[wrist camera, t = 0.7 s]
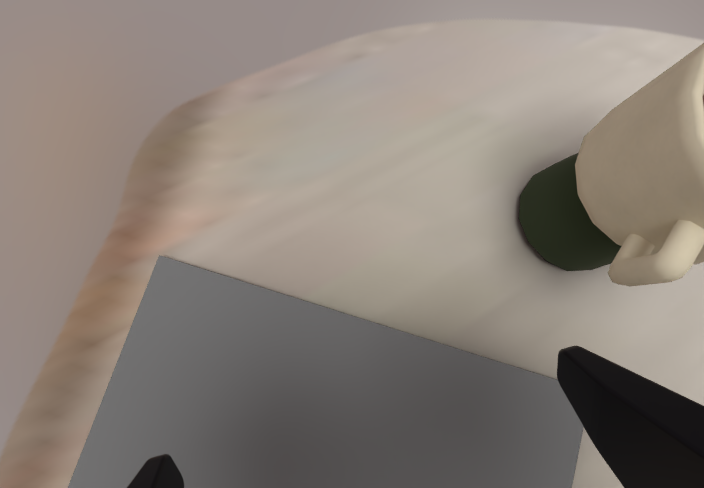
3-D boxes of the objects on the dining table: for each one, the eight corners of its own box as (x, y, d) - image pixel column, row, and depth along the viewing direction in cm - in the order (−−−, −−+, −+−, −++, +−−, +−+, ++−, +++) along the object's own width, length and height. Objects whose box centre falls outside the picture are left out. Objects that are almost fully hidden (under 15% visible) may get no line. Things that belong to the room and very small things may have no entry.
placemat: (584, 388, 24) (590, 390, 23) (517, 719, 21) (523, 731, 21) (163, 256, 24) (159, 255, 23) (39, 573, 21) (31, 581, 20)
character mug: (571, 332, 24) (842, 349, 12) (465, 259, 25) (615, 196, 12) (660, 181, 26) (979, 51, 13) (561, 114, 27) (779, -75, 14)
